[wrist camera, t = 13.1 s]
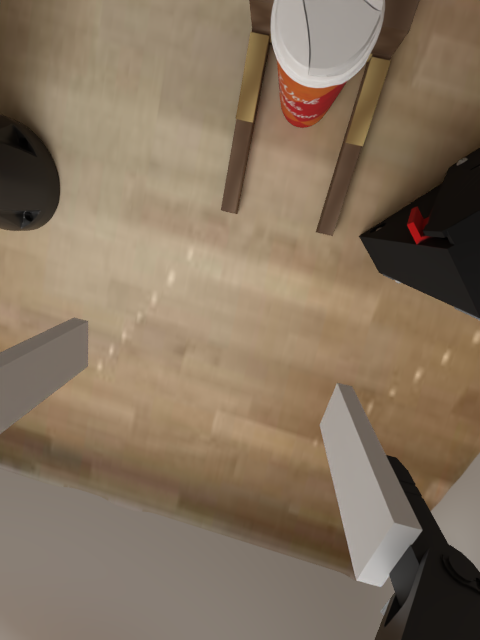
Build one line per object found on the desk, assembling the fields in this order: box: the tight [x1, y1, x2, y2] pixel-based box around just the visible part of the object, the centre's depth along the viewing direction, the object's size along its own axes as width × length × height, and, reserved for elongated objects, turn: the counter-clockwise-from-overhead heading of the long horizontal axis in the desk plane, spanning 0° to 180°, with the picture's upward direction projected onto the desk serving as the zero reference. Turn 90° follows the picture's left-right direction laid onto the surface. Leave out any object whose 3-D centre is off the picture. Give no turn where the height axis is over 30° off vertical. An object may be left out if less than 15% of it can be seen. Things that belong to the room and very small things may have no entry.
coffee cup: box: [271, 0, 385, 128], centre depth 25 cm, size 8×8×15 cm
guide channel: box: [221, 0, 419, 236], centre depth 31 cm, size 16×22×6 cm
